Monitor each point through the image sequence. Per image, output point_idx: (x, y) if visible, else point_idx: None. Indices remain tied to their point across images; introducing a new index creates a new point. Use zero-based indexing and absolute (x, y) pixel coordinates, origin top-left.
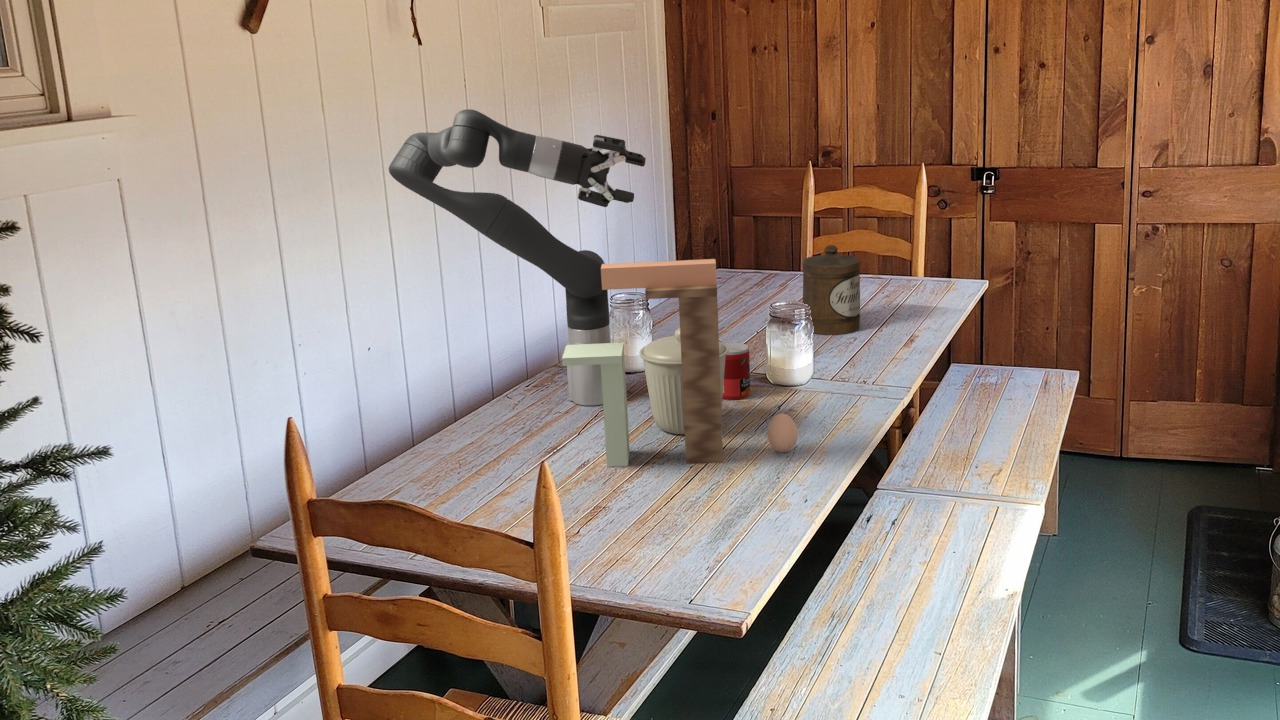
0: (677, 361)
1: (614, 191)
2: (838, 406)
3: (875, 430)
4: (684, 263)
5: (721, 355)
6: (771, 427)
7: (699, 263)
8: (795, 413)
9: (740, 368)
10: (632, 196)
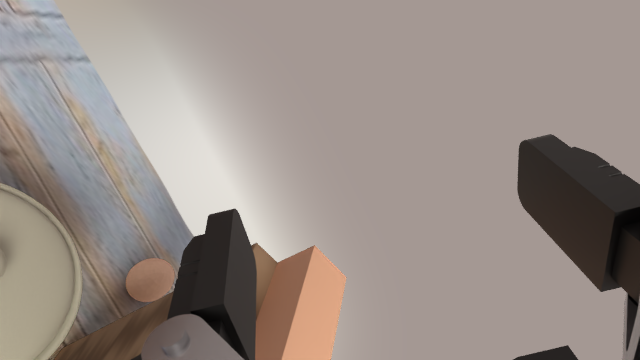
0: (40, 352)
1: (224, 336)
2: (51, 109)
3: (151, 164)
4: (323, 330)
5: (77, 252)
6: (156, 293)
7: (335, 303)
8: (24, 161)
9: None
10: (248, 244)
